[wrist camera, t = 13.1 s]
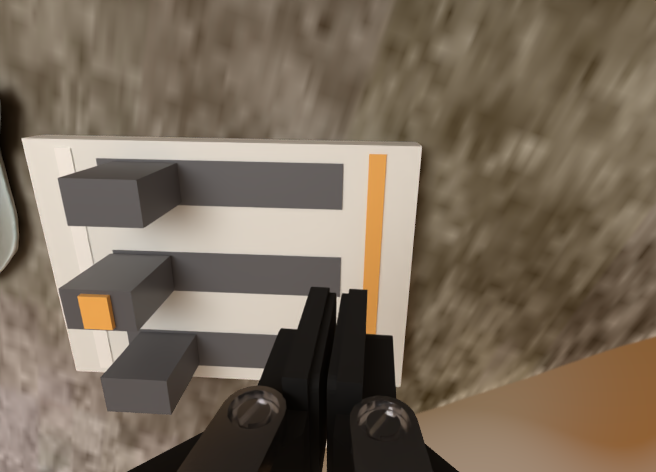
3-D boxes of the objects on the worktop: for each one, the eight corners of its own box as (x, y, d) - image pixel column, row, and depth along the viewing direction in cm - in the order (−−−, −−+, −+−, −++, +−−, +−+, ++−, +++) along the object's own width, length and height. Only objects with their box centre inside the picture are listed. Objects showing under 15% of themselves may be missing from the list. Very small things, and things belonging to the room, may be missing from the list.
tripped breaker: (169, 255, 27) (127, 294, 22) (174, 290, 27) (134, 335, 22) (110, 253, 27) (54, 291, 22) (116, 287, 28) (64, 331, 23)
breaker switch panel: (416, 142, 25) (439, 160, 19) (397, 369, 31) (409, 444, 25) (44, 134, 27) (-57, 149, 20) (92, 354, 32) (26, 422, 26)
